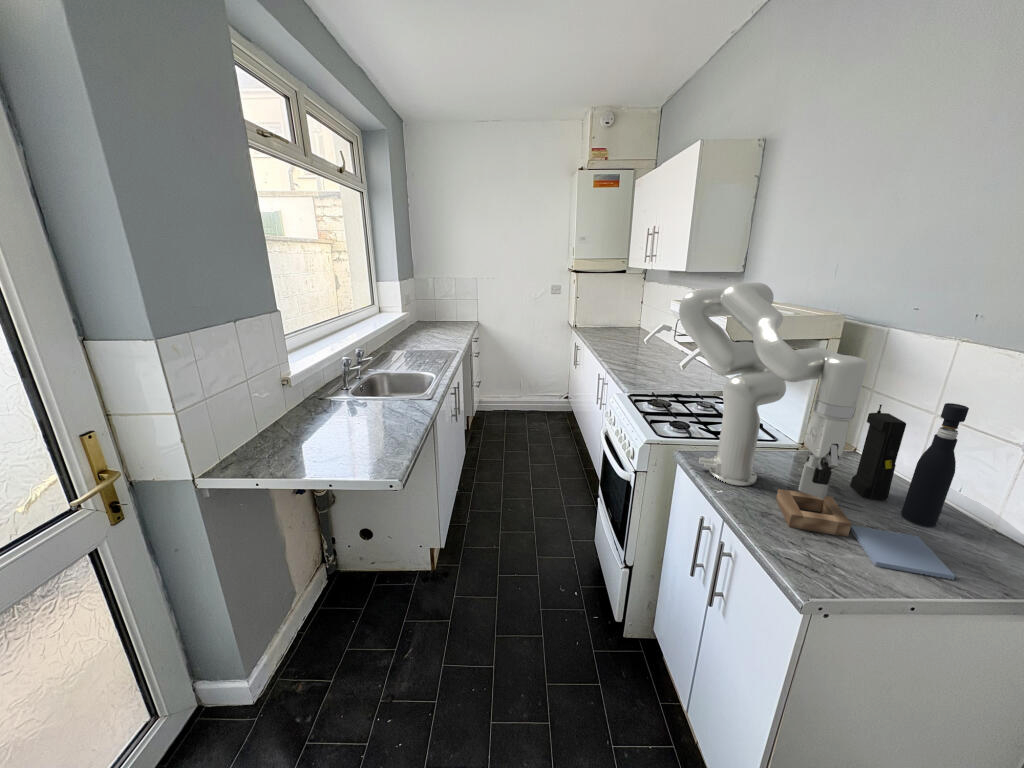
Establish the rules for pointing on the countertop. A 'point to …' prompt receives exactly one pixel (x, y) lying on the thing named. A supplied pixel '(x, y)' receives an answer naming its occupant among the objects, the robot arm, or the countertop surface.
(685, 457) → the countertop surface
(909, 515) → the black water bottle
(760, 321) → the robot arm
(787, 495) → the walnut collar
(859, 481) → the portable radio
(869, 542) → the blue square plate
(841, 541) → the countertop surface
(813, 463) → the power adapter
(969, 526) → the countertop surface
